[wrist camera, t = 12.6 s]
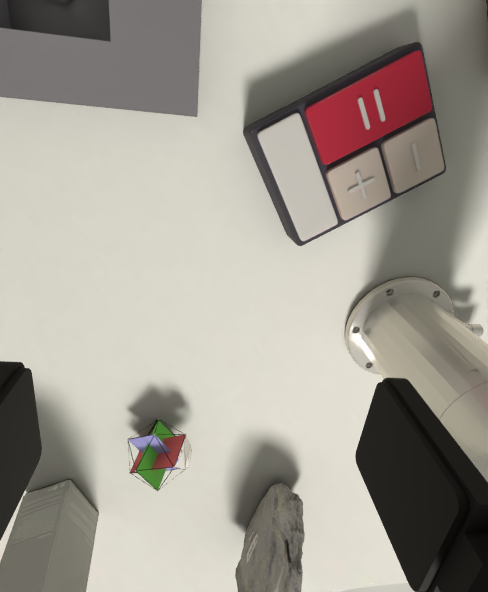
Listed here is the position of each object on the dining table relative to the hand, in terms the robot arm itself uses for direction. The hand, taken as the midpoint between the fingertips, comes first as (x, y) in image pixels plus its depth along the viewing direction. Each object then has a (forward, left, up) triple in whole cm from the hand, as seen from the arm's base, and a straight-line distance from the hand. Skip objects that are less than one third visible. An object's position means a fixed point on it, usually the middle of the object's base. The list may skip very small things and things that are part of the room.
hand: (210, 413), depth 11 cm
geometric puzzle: (+3, +29, -28) cm, 41 cm away
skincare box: (+15, +41, -28) cm, 52 cm away
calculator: (-13, -5, -29) cm, 32 cm away
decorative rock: (-12, +45, -28) cm, 55 cm away
